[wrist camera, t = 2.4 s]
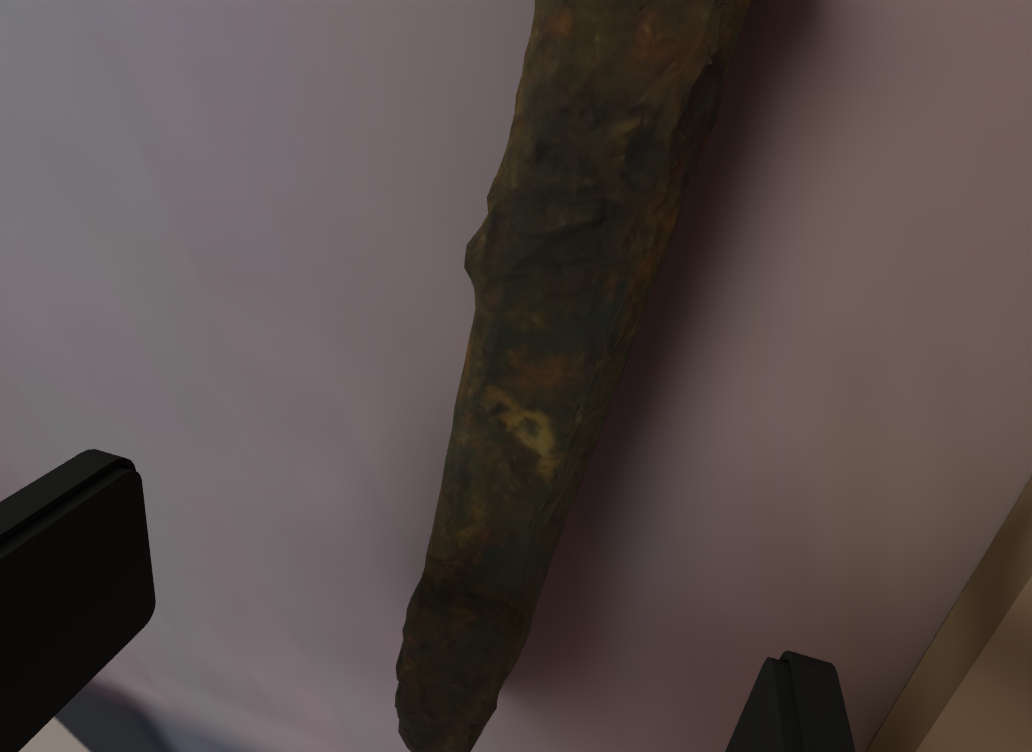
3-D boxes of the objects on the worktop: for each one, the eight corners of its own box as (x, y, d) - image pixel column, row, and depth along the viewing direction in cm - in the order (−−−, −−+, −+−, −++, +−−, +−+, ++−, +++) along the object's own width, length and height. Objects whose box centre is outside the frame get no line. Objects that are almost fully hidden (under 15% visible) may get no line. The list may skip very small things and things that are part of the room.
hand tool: (576, -138, 11) (499, -245, 7) (807, -74, 11) (861, -149, 7) (388, 613, 20) (307, 751, 16) (510, 665, 20) (458, 820, 16)
